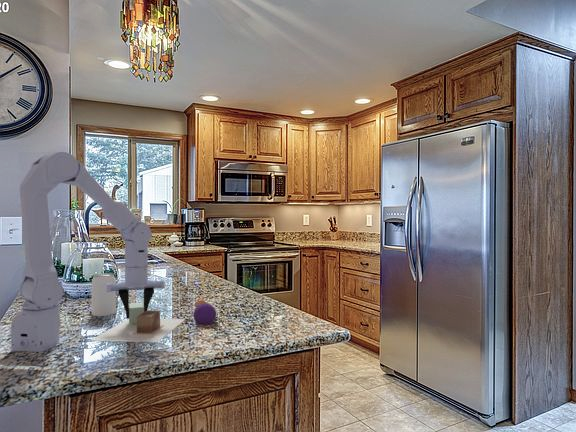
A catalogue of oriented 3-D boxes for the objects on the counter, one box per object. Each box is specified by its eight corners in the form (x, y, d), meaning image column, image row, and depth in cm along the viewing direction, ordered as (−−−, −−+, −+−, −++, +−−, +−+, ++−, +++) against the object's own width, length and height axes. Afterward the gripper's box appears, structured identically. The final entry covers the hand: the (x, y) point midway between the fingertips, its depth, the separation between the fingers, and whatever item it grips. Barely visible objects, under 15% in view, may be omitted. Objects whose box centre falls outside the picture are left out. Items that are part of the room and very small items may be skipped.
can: (106, 318, 115) (106, 276, 115) (86, 317, 117) (86, 275, 117) (120, 313, 122) (120, 273, 122) (101, 312, 123) (101, 272, 123)
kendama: (212, 297, 127) (218, 306, 108) (209, 316, 127) (214, 329, 107) (193, 294, 126) (196, 303, 106) (189, 313, 125) (192, 326, 106)
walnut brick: (151, 332, 100) (151, 316, 100) (136, 332, 100) (136, 316, 100) (160, 326, 106) (160, 310, 106) (146, 325, 106) (146, 310, 106)
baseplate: (157, 344, 93) (157, 341, 93) (89, 343, 94) (89, 340, 94) (185, 321, 113) (185, 318, 113) (129, 320, 114) (129, 317, 114)
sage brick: (144, 322, 107) (144, 307, 107) (129, 323, 106) (129, 308, 106) (142, 316, 113) (142, 302, 113) (128, 318, 111) (128, 303, 111)
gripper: (106, 269, 103) (106, 323, 103) (166, 266, 108) (165, 317, 108) (107, 266, 109) (107, 316, 109) (163, 263, 115) (163, 311, 115)
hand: (136, 316), depth 109 cm, fingers closed on sage brick, 4 cm apart
